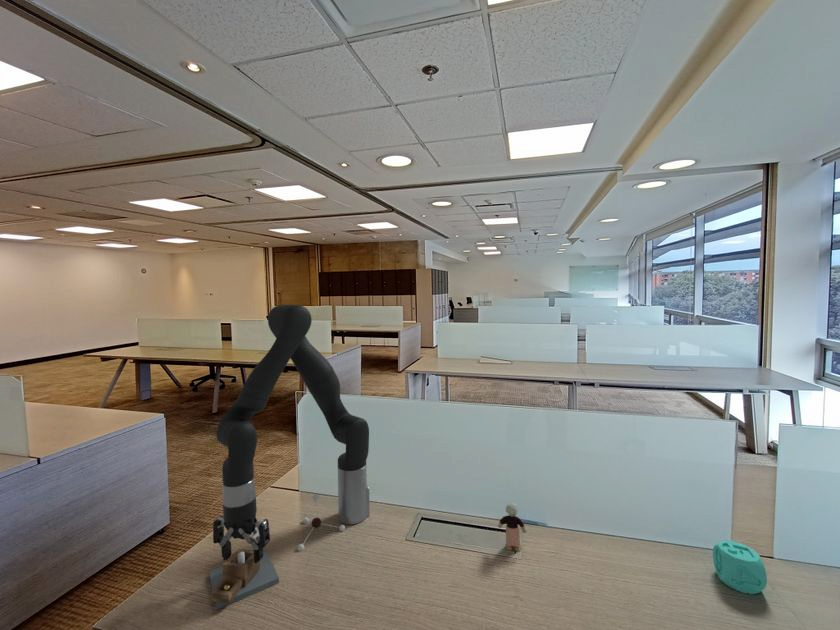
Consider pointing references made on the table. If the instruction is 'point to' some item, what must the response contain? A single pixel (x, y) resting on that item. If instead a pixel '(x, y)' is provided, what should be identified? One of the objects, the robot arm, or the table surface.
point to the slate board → (258, 583)
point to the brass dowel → (227, 587)
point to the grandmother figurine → (512, 527)
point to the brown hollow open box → (235, 576)
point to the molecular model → (316, 523)
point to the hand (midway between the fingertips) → (242, 559)
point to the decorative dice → (739, 567)
